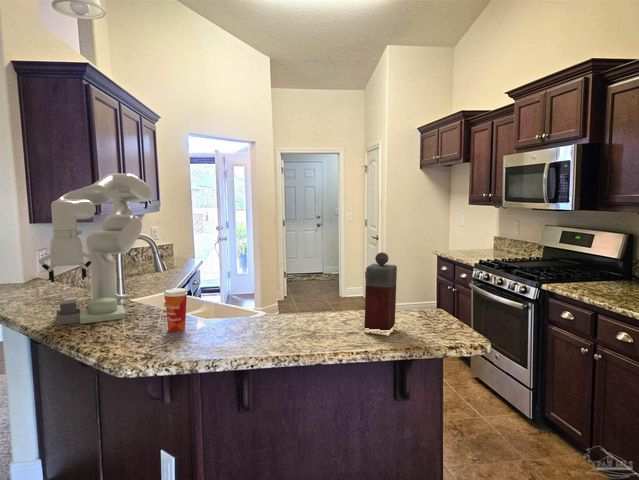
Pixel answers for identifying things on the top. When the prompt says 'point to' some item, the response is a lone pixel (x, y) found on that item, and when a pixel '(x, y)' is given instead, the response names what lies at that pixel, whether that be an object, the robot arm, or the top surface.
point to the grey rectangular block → (68, 307)
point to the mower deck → (102, 317)
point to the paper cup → (176, 309)
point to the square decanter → (380, 294)
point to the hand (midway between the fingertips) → (68, 280)
